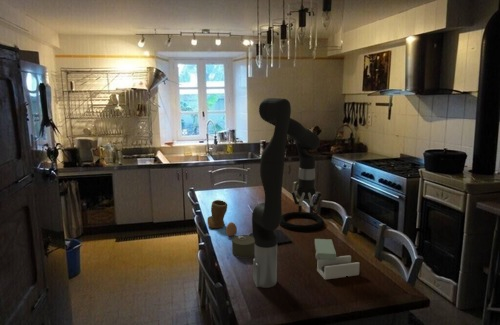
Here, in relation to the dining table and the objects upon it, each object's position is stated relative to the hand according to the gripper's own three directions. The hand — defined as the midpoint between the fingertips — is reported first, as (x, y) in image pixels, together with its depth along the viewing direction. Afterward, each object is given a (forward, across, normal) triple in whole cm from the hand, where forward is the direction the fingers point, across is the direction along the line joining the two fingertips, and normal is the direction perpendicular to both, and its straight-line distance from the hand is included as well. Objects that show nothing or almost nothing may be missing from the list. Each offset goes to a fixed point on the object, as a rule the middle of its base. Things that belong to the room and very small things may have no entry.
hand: (305, 212), depth 166 cm
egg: (+22, -39, +22) cm, 50 cm away
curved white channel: (+22, +14, -14) cm, 30 cm away
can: (+23, -29, +2) cm, 37 cm away
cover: (+16, +8, -5) cm, 19 cm away
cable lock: (+23, +1, +47) cm, 53 cm away
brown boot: (+23, -50, +39) cm, 67 cm away
